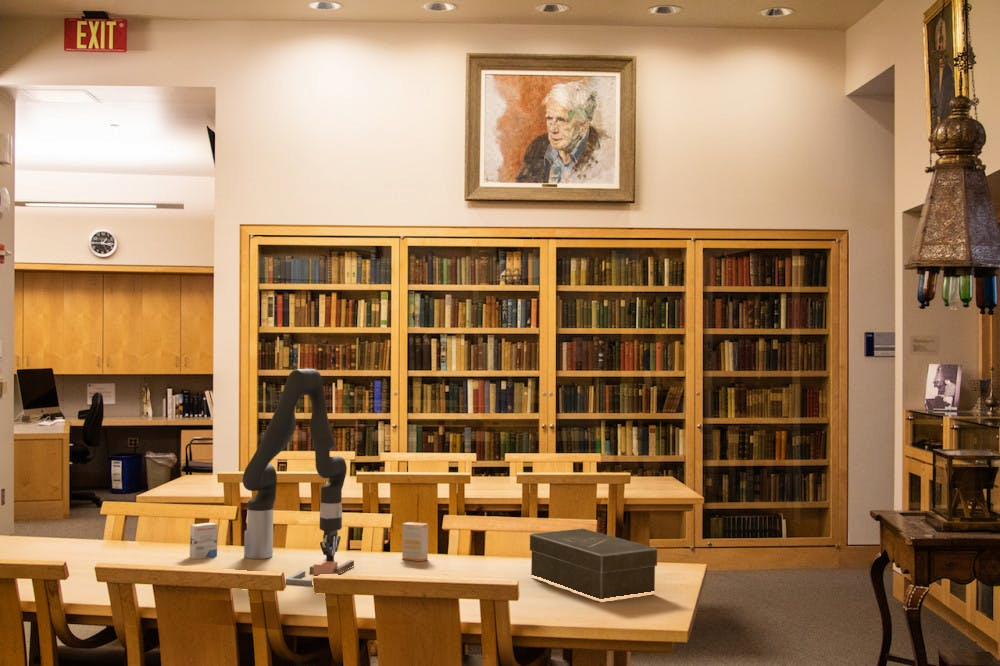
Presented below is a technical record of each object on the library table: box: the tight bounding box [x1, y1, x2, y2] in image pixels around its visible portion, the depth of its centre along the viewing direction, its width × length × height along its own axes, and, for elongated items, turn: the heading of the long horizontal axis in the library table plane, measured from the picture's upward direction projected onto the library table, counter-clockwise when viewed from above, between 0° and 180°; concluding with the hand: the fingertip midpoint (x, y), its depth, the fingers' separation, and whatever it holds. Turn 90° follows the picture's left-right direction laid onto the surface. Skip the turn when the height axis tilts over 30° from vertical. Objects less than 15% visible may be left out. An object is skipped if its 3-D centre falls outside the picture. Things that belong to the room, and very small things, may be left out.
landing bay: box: [285, 570, 338, 587], centre depth 332 cm, size 13×12×2 cm
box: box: [529, 528, 658, 599], centre depth 330 cm, size 22×39×15 cm, turn 32°
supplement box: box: [401, 521, 429, 562], centre depth 367 cm, size 8×5×13 cm, turn 65°
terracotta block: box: [313, 560, 339, 576], centre depth 342 cm, size 6×6×4 cm
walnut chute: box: [309, 558, 355, 575], centre depth 348 cm, size 10×14×2 cm
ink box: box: [189, 521, 219, 560], centre depth 366 cm, size 9×5×12 cm, turn 129°
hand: (330, 566), depth 347 cm, fingers closed
